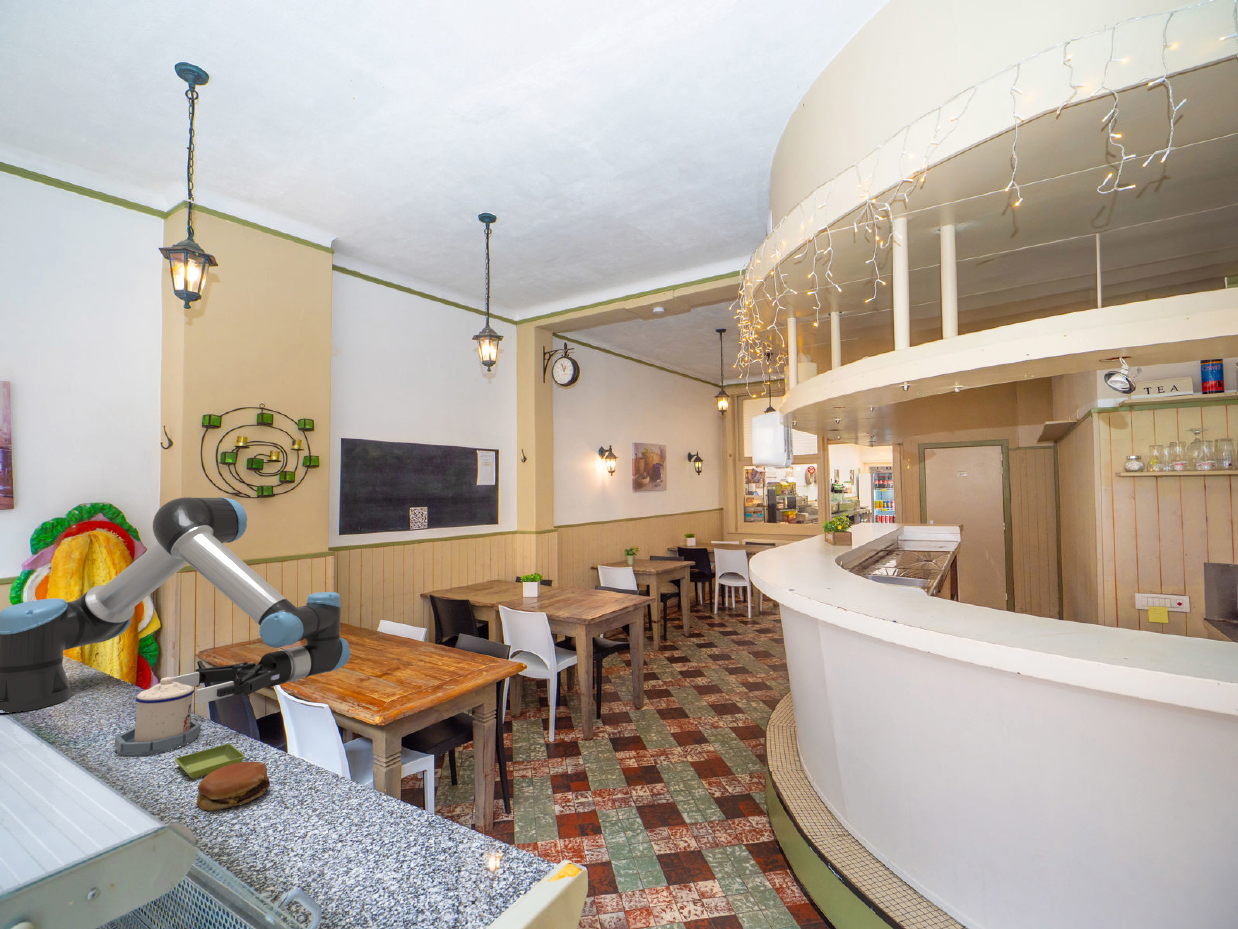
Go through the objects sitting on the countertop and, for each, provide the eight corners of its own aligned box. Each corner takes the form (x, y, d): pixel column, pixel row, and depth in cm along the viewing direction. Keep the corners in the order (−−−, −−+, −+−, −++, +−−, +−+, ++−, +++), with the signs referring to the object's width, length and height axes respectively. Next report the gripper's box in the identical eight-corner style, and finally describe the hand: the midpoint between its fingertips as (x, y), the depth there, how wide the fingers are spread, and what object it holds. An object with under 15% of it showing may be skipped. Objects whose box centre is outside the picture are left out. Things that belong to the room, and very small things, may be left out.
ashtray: (109, 744, 115) (110, 732, 115) (186, 726, 124) (187, 714, 125) (125, 762, 107) (126, 749, 107) (206, 741, 116) (207, 729, 117)
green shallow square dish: (245, 767, 106) (246, 755, 106) (187, 785, 99) (187, 773, 99) (229, 754, 111) (229, 743, 111) (173, 770, 105) (173, 758, 105)
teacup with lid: (196, 738, 116) (200, 678, 117) (137, 752, 109) (142, 687, 110) (180, 724, 123) (185, 667, 124) (125, 735, 117) (129, 675, 118)
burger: (182, 807, 91) (184, 775, 92) (239, 781, 100) (241, 752, 100) (226, 819, 88) (228, 787, 88) (282, 791, 97) (283, 762, 97)
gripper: (316, 691, 131) (211, 722, 112) (252, 675, 143) (149, 700, 124) (317, 656, 131) (213, 681, 113) (254, 643, 143) (151, 664, 125)
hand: (179, 691), depth 119 cm, fingers open, 13 cm apart
